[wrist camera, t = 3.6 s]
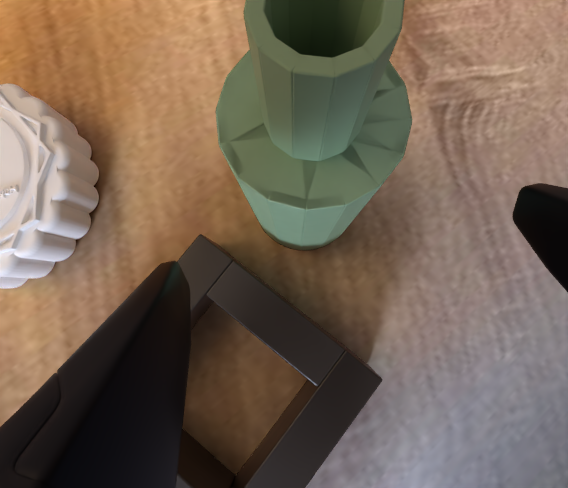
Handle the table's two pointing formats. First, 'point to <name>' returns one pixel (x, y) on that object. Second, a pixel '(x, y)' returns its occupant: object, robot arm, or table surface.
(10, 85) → the mooncake
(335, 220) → the vase
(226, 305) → the holder
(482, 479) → the table surface
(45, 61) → the table surface
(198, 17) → the table surface
